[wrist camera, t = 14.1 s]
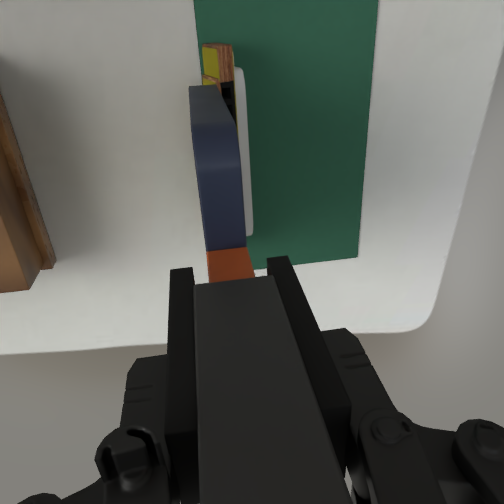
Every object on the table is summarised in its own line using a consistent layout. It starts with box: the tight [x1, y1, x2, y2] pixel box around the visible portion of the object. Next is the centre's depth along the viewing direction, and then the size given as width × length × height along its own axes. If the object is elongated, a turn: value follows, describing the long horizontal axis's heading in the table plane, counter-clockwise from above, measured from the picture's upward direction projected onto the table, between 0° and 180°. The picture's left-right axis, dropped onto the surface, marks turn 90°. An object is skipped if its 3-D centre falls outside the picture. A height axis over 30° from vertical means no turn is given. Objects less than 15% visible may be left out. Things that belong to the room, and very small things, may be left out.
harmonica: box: [202, 43, 253, 236], centre depth 30 cm, size 15×3×2 cm
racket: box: [189, 84, 353, 504], centre depth 17 cm, size 11×3×27 cm, turn 3°
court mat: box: [194, 0, 378, 270], centre depth 32 cm, size 12×21×1 cm, turn 3°
